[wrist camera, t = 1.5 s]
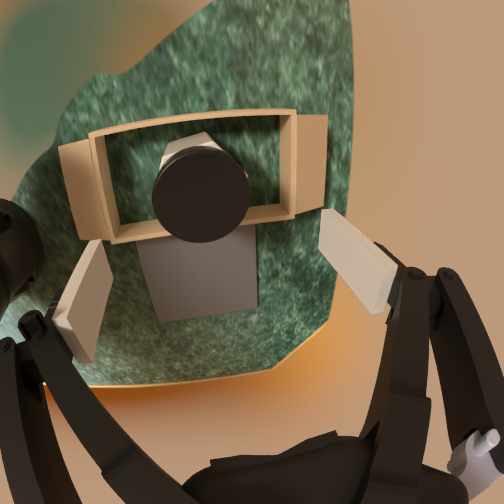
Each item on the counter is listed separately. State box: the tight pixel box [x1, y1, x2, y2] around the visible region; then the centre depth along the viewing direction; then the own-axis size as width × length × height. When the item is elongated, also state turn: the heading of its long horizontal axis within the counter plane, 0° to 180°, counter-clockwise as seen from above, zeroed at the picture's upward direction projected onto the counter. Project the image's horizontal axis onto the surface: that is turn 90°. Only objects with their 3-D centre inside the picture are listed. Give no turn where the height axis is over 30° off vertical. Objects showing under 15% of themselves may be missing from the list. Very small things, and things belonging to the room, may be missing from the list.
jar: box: [152, 132, 250, 243], centre depth 27 cm, size 9×8×12 cm
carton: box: [58, 108, 328, 244], centre depth 31 cm, size 32×13×4 cm, turn 92°
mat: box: [135, 224, 257, 323], centre depth 40 cm, size 16×16×1 cm
